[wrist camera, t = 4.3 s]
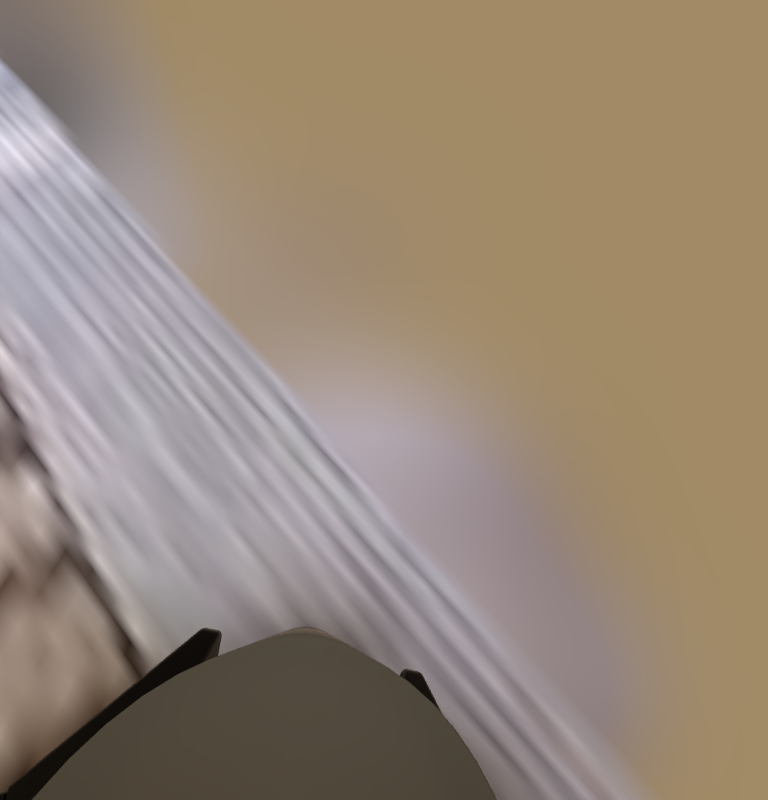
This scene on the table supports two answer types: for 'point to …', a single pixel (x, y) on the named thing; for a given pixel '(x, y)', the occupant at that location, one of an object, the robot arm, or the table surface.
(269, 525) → the table surface
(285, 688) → the bottle
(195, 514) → the table surface
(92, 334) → the table surface
